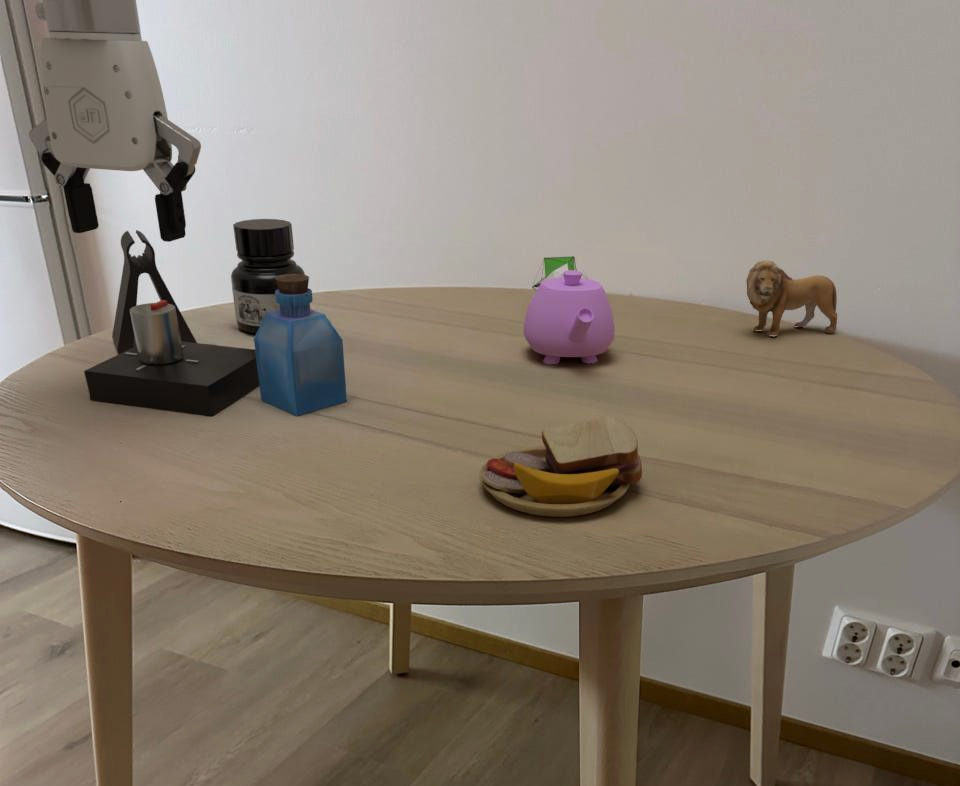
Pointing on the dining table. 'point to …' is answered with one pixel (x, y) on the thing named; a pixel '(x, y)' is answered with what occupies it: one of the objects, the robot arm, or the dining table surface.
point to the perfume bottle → (299, 352)
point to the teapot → (569, 319)
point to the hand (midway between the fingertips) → (129, 234)
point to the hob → (177, 379)
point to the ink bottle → (260, 268)
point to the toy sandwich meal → (567, 469)
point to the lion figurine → (789, 295)
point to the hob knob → (156, 333)
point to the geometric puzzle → (556, 267)
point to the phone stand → (129, 289)
